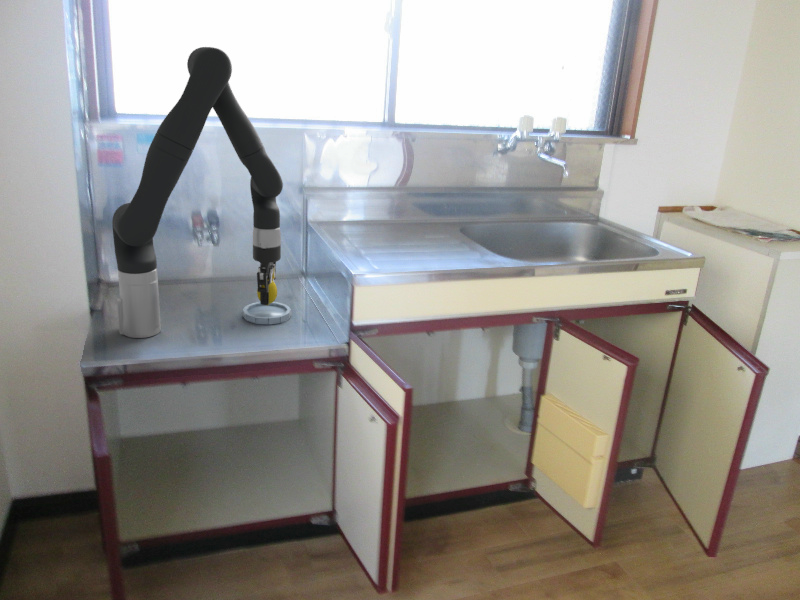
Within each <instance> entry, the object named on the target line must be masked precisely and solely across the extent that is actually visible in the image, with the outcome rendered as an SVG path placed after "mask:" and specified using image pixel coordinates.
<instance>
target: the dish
mask: <svg viewBox="0 0 800 600" xmlns="http://www.w3.org/2000/svg"><path fill="white" fill-rule="evenodd" d="M291 316H292V308H291V307H289V305H288V304H285V303H282V302H279V301H278V302H277V301H274V302H272V303H270V304H269V305H261V303H260V301H257V302H253V303H250V304H247V305H245V306H244V308H243V309H242V317H243V319H244V320H245V321H247V322H249V323H252V324H256V325H275V324H276V325H277V324H282V323H284V322H286V321H288V320H290V318H291Z"/></svg>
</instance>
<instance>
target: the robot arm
mask: <svg viewBox="0 0 800 600" xmlns="http://www.w3.org/2000/svg"><path fill="white" fill-rule="evenodd" d="M186 64H187V70H188V71H187V72H188V74H189V78H188V80H187V82H186V84H185V87H184V89H183V92H182V94H181V96H180V98H179V99H178V100H177V102H176V104H175V105H174V106H173V107H172V109H171V110H170V111H169V112H168V113H167V115H166V116H165V117H164V119H163V120H162V122H161V123H160V124H159V127H158V128H157V131H156V133H155V135H154V136H153V139H152V141H151V143H150V145H149V147H148V150H147V152H146V156H145V160H144V164H143V167H142V173H141V178H140V182H139V184H138V187H137V189H136V192H135V194H134V195H133V197H132V199H131V201H130V202H126V203H124V204H121V205H120V206H119V207H117V208H116V210H115V211H114V213H113V215H112V218H111V219H112V221H111V223H112V235H113V246H114V254H115V259H116V265H117V268H116V269H117V277H118V289H119V297H118V298H117V299H116V303H117V304H116V305H117V307H116V308H117V315H118V317H117V318H118V329H119V335H123V336H126V337H128V338H135V339H142V338H143V339H144V338H149V337H150V338H151V337H154V336H155V335H157V334H159V333H161V328H162V326H161V323H162V322H161V313H160V312H161V310H160V295H159V281H158V264H157V262H158V261H157V256H156V253H155V247H154V239H153V238H154V237H155V235H156V233H157V230H158V228H159V225H160V223H161V220H162V216H163V214H164V212H165V211H164V210H165V208H166V205H167V202H168V200H169V198H170V196H171V194H172V193H173V191H174V190H175V188H176V185H177V184H178V181H179V180H180V178H181V176H182V174H183V172H184V170H185V168H186V166H187V164H188V162H189V160H190V158H191V157H192V155H193V152H194V150H195V147H196V145H197V142H198V140H199V139H200V136H201V134H202V132H203V129H204V127H205V124H206V121H207V120H208V117H209V115H210V113H211V111H212V109H213V110H214V112H215V114H216V115H217V117H218V120H219V121H220V123H221V125H222V126H223V130H224V131H225V133H226V135H227V137H228V140H229V141H230V144H231V145H232V147H233V150H234V152H235V154H236V155H237V157H238V158H239V161H240V162H241V163H242V165H243V166H244V168H246V169H247V171H248V173H249V175H250V180H249V181H250V182H249V183H250V184H249V185H250V188H249V189H250V195H251V201H252V207H253V208H252V209H253V213H252V214H253V219H252V221H253V223H252V225H253V229H252V259H253V260H254V261H255V262H259V263H260V264H259V265H260V266H258V269H257V273H256V282H257V283H256V284H257V289H258V292H260V300H259V302H260V303H261V305H268V304H269V285H270V284H271V282H272V281H273V282H274V283H275V280H276V279H277V278H276V269H277V268H276V267H277V262H278V261H280V260H281V257H282V255H281V254H282V253H281V252H282V251H281V250H282V249H281V248H282V247H281V245H282V244H281V243H282V241H281V240H282V237H281V236H282V233H281V214H280V209H279V207H278V204H277V197H278V196H279V195H280V194H281V193H282V191H283V187H284V183H283V179H282V176H281V175H280V173H279V170H278V169H277V167H276V166H275V164H274V162H273V161H272V160H271V158H270V157H269V155H268V152H267V151H266V148H265V147H264V145H263V142H262V140H261V138H260V136H259V134H258V132H257V130H256V128H255V126H254V125H253V123H252V121H251V119H249V117H248V115H247V114H246V113H245V112H244V110H243V108H242V107H241V105H240V103H239V102H238V100H237V98H236V96H235V94H234V92H233V90H232V87H231V85H230V82H229V81H230V80H231V77H232V72H233V67H232V61H231V59H230V57H229V55H228V54H227V53H226V52H225V51H224V50H222V49H220V48H217V47H212V46H203V47H198V48H195V49H194V50H193V51H192V52H191V53H190V54H189V55H188V59H187V63H186ZM267 280H268V281H267ZM262 285H264V286H265V288H262Z"/></svg>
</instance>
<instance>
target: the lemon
mask: <svg viewBox="0 0 800 600" xmlns="http://www.w3.org/2000/svg"><path fill="white" fill-rule="evenodd" d="M267 281H268V280H267ZM262 288H265V286H264V285H262ZM256 294H257V300H259V301H260V292H258V288H257V290H256ZM277 297H278V287H277V285H276V283H275V281H274V282H273V281H272V282H271V284H270V285H269V304H270V303H272V302H276V299H277ZM269 304H268V305H269Z"/></svg>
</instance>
